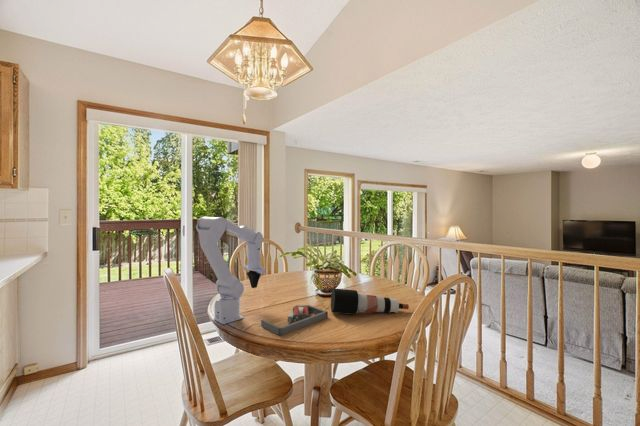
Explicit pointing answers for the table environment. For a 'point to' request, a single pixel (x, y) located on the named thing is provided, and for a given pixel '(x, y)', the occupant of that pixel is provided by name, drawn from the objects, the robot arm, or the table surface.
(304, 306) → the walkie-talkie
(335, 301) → the striped bottle
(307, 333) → the table surface
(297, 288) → the table surface
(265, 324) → the charging dock
